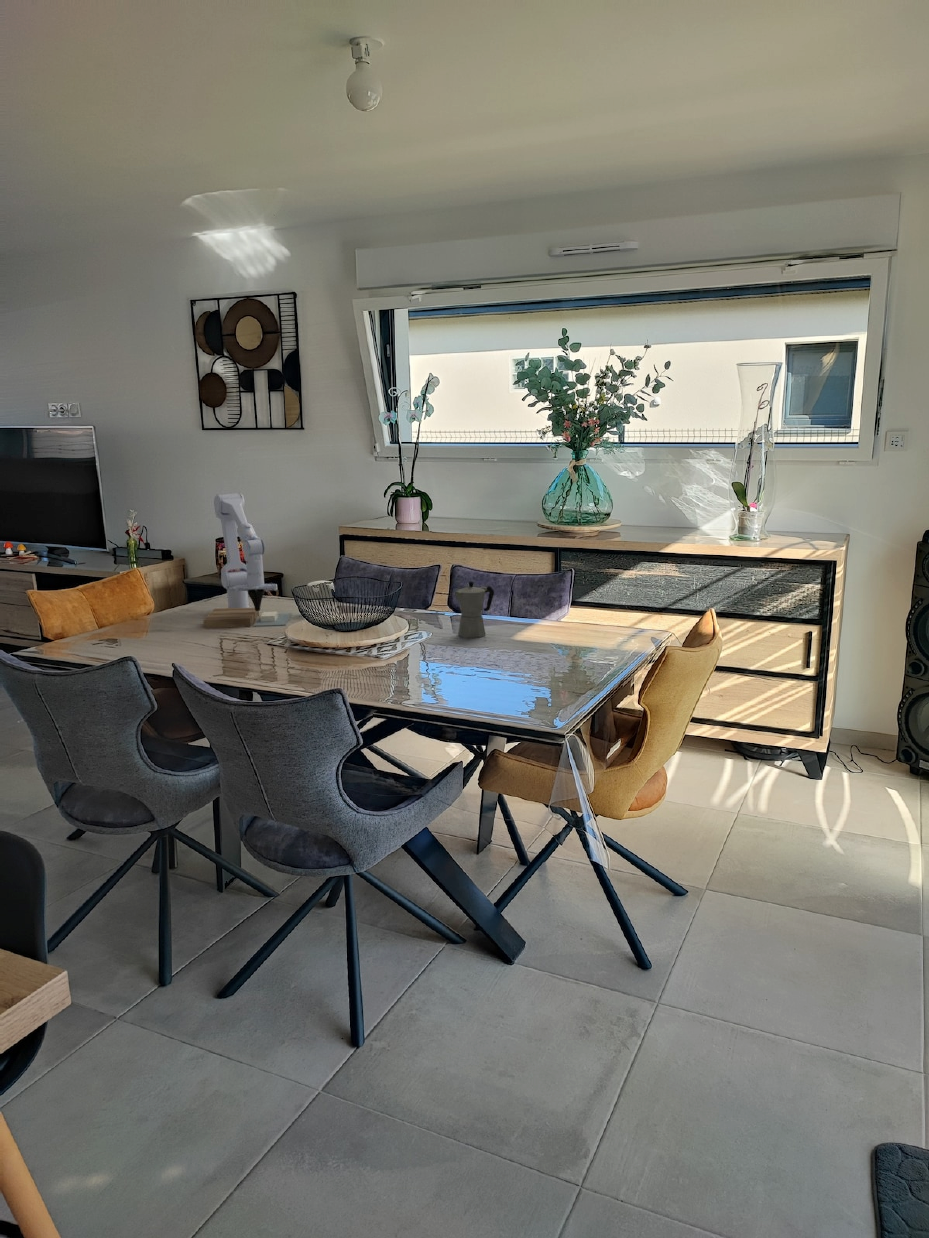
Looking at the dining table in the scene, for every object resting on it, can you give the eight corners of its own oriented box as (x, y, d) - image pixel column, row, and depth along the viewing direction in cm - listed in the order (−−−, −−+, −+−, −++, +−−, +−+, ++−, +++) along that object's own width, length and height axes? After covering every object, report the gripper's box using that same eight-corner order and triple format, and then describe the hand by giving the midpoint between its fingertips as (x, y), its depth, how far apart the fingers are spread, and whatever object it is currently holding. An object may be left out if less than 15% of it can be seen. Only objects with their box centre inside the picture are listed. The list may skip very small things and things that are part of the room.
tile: (277, 611, 318) (277, 616, 318) (263, 612, 318) (264, 617, 318) (274, 615, 311) (274, 621, 312) (260, 616, 311) (260, 621, 311)
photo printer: (334, 611, 329) (332, 578, 326) (336, 613, 325) (334, 580, 322) (306, 613, 325) (305, 580, 322) (308, 615, 321) (306, 582, 318)
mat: (261, 615, 324) (261, 614, 323) (291, 614, 324) (291, 613, 324) (253, 626, 306) (253, 625, 306) (285, 625, 307) (285, 624, 307)
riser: (215, 616, 323) (214, 608, 322) (259, 615, 324) (258, 607, 323) (204, 628, 305) (203, 619, 304) (250, 626, 306) (250, 618, 305)
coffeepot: (462, 640, 282) (461, 585, 278) (447, 634, 290) (446, 581, 286) (501, 634, 290) (501, 580, 286) (486, 628, 298) (486, 576, 294)
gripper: (232, 575, 307) (235, 613, 310) (274, 574, 307) (276, 612, 310) (236, 572, 313) (239, 609, 317) (277, 571, 314) (279, 607, 317)
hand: (257, 610), depth 314 cm, fingers closed
